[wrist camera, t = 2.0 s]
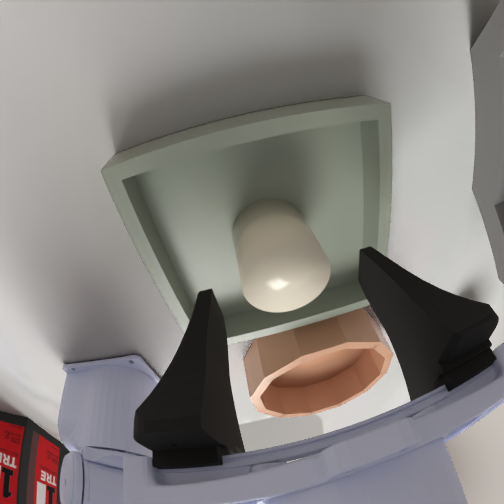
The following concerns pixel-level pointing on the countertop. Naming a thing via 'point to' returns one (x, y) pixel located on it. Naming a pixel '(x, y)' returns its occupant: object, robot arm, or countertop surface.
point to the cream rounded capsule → (278, 256)
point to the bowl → (316, 365)
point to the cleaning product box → (28, 462)
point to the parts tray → (255, 189)
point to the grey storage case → (490, 131)
